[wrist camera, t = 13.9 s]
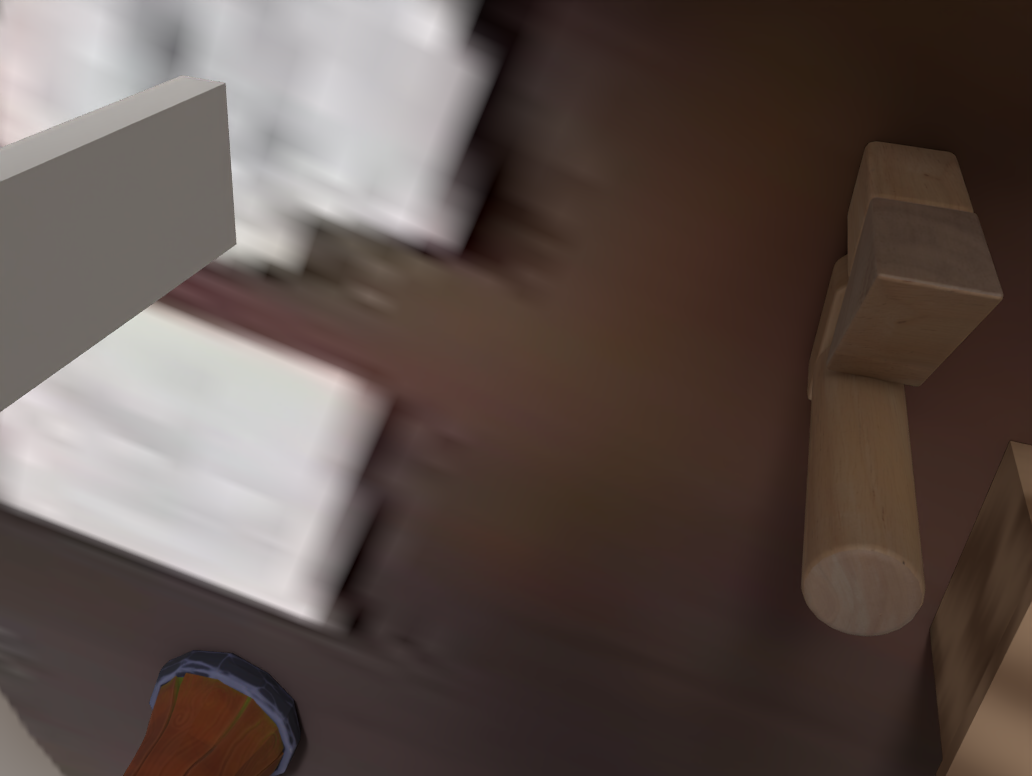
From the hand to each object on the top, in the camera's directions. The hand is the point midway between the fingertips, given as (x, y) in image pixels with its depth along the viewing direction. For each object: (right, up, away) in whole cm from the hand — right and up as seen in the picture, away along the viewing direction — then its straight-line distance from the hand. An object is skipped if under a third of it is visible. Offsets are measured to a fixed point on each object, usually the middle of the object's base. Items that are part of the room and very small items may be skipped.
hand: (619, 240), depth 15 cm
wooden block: (+14, +3, +28) cm, 32 cm away
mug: (-22, -28, +59) cm, 69 cm away
